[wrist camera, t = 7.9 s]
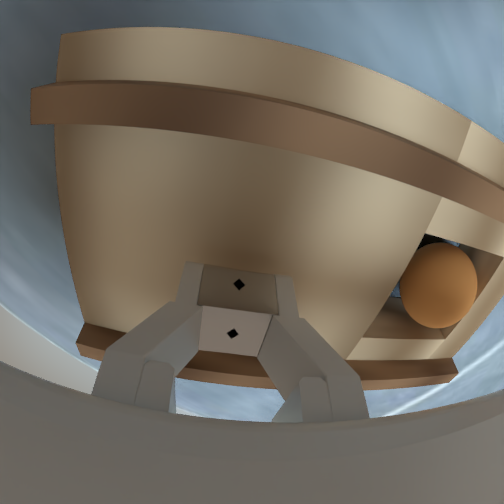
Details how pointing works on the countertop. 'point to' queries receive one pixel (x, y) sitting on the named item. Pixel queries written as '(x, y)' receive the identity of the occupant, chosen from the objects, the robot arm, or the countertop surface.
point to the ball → (438, 285)
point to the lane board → (266, 191)
